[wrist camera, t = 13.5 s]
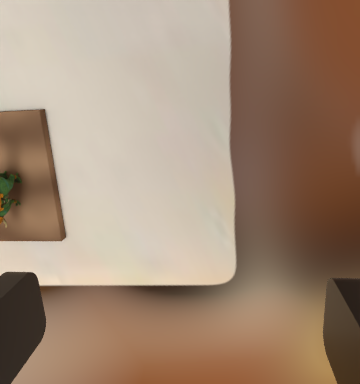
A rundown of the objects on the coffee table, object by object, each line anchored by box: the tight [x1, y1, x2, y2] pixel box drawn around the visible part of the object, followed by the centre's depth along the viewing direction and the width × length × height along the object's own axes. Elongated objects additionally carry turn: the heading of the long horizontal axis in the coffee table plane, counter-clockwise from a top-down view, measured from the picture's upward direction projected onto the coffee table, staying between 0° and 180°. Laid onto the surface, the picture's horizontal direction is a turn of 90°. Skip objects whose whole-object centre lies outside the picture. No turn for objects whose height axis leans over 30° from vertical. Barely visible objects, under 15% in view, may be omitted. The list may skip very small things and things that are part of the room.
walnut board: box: [0, 109, 66, 241], centre depth 42 cm, size 16×10×1 cm, turn 3°
